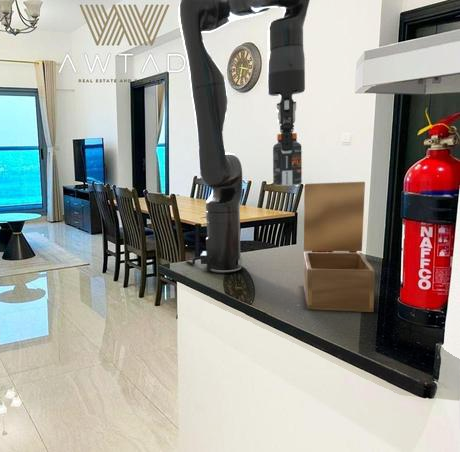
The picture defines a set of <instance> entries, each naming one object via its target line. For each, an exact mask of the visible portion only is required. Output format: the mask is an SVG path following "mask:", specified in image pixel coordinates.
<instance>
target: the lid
mask: <svg viewBox="0 0 460 452" xmlns="http://www.w3.org/2000/svg"><path fill="white" fill-rule="evenodd" d="M365 191H366V182H365V181H346V182H345V181H344V182H320V183H317V182H316V183H315V182H313V183H304V184H303V251H304V252H312V251H333V252H349V251H357V252H363V238H364V237H363V233H364V212H365Z"/></svg>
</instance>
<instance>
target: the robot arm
mask: <svg viewBox="0 0 460 452" xmlns="http://www.w3.org/2000/svg"><path fill="white" fill-rule="evenodd" d="M309 5H310V0H180V2H179V6H178V22H179V28H180V32H181V37H182V41H183V46H184V50H185V54H186V60H187V65H188V72H189V80H190V89H191V97H192V104H193V109H194V110H193V111H194V117H195V125H196V132H197V141H198V143H197V144H198V168H199V175H200V178H201V180H202V182H203V183H204V185H206V186H207V187H209V188H211V194H210V196H209V198H208V199H207V200H206V203H205V213H206V238H205V250H203V251H202V252H201V254H200V256H195V257H193V258H192V260H191V261H189V260H186V262H185V263H186V264H188V265H191V266H192V265H195V264H196V261H197V260H200V265H206V272H207V273H208V272H210V273H215V274H233V273H238V272H240V271H241V270H242V264H243V258H242V257H241V256H242V255H241V252H242V251H241V218H240V217H241V214H240V212H241V211H240V206H241V205H240V204H241V201H242V199H243V198H242V197H243V167H242V163H241V160H240V158H238V156H236V155H235V154H234V153H230V152H226V149H225V145H224V143H225V142H224V125H225V121H226V117H227V112H228V92H227V85H226V79H225V76H224V74H223V72H222V70H221V69H220V67H219V66H218V64H217V63H216V61H215V60H214V59H213V58H212V57H211V55H210V53H209V52H208V50H207V48H206V45H205V42H204V38H203V33H212V32H214V31H216V30H218V29H220V28H222V27H224V26H226V25H228V24H229V23H231V22H233V21H236V20H240V19H244V18H249V17H253V16H257V15H261V14H263V13H265V12H267V11H269V10H270V9H271V8H280V9H284V11H283V15H282V17H280V18H276V19H274V20H272V21H271V22H270V23H269V25H268V30H267V46H268V47H267V50H268V52H267V66H266V67H267V94H268V96H270V97H280V101H279V102H277V103H276V112H277V123H278V125H279V132H280V134H281V138H282V151H291V150H292V149H293V136H292V133H294V130H295V122H296V111H297V101H294V99H293V95H299V94H302V93H304V92H305V90H306V58H305V50H304V25H305V21H306V17H307V13H308V9H309ZM282 133H283V134H282Z"/></svg>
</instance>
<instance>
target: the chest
mask: <svg viewBox="0 0 460 452" xmlns="http://www.w3.org/2000/svg"><path fill="white" fill-rule="evenodd" d="M375 273H376V271H375V269H374V268H373V266H372V264H370V261H368V260H367V258H366V257H365V255H364V254H363V253H362V252H356V253H349V252H337V251H333V252H312V251H304V252H303V290H304V297H305V302H306V308H307V310H316V311H317V310H319V311H341V312H359V313H360V312H361V313H363V312H365V313H374V308H375V277H376V276H375Z"/></svg>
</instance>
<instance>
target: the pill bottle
mask: <svg viewBox="0 0 460 452" xmlns="http://www.w3.org/2000/svg"><path fill="white" fill-rule="evenodd" d="M281 134H283V133H278V134H276V135H277V136H276V140H277V142H276V143H275V144H274V145H273V147H272V179H273V180H272V182H273V183H272V184H273V185H274V186H277V187H288V186H299V185H301V184H302V174H303V172H302V169H303V168H302V167H303V166H302V165H303V164H302V163H303V162H302V161H303V160H302V157H303V156H302V152H303V151H302V144H301V143H300V142H298V141H297V140H298V135H297V132H292V136H293V149H292V150H291V151H282V138H281Z"/></svg>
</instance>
